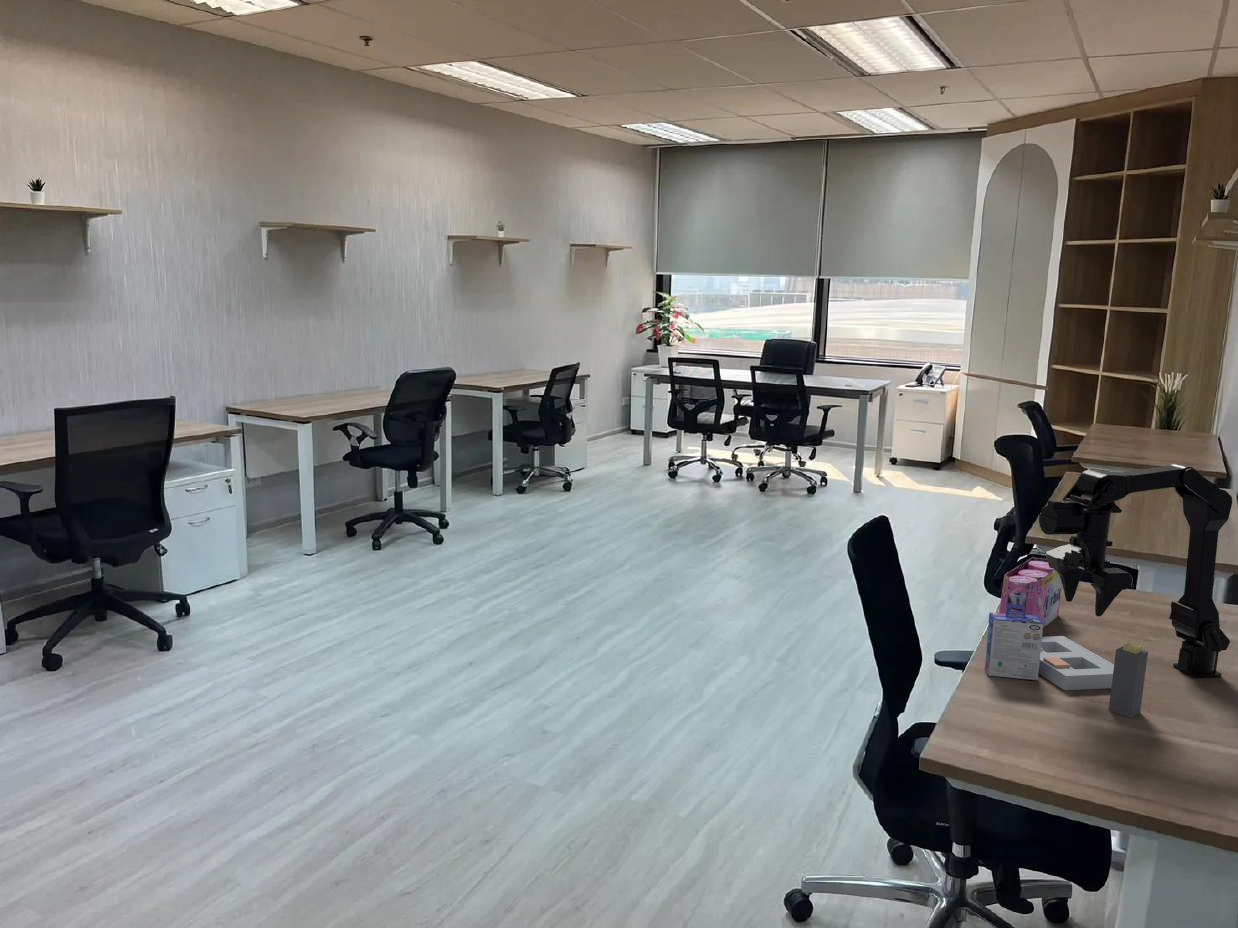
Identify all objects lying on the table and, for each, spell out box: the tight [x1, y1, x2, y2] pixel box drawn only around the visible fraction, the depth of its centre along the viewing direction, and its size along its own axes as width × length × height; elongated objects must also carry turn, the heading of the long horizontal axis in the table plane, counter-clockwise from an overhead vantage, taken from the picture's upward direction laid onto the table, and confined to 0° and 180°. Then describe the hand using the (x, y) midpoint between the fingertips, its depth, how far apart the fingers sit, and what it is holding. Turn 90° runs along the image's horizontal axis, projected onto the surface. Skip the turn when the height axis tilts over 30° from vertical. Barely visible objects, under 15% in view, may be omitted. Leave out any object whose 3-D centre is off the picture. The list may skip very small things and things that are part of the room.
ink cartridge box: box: [984, 604, 1044, 681], centre depth 190 cm, size 10×6×14 cm, turn 79°
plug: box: [1108, 642, 1149, 718], centre depth 173 cm, size 4×4×13 cm
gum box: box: [998, 556, 1063, 629], centre depth 221 cm, size 24×8×14 cm, turn 140°
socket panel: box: [1038, 635, 1114, 691], centre depth 194 cm, size 14×21×4 cm, turn 9°
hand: (1083, 608), depth 188 cm, fingers open, 9 cm apart
